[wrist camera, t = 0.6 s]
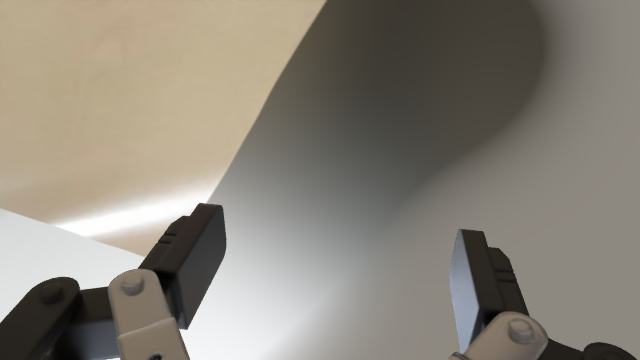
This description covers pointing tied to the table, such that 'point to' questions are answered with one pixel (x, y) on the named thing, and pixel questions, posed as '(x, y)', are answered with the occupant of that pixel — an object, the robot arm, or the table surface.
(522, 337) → the robot arm
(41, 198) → the table surface
